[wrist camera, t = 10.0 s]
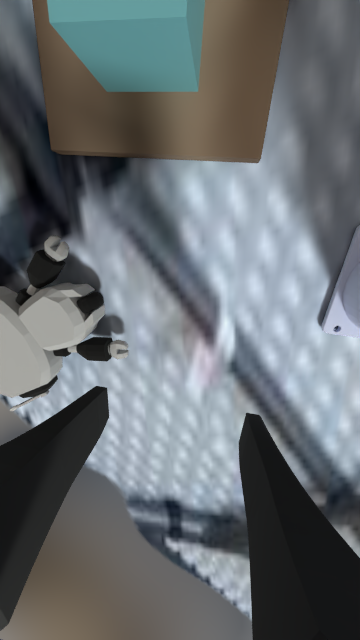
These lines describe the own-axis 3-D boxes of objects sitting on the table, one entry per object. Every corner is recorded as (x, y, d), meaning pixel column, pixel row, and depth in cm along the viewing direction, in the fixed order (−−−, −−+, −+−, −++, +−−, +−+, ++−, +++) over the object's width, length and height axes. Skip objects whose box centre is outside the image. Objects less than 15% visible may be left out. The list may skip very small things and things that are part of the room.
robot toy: (76, 225, 19) (-41, 295, 22) (40, 222, 15) (-97, 309, 18) (144, 344, 22) (33, 389, 26) (131, 369, 18) (1, 419, 22)
